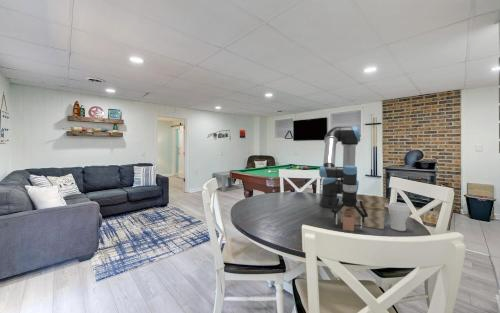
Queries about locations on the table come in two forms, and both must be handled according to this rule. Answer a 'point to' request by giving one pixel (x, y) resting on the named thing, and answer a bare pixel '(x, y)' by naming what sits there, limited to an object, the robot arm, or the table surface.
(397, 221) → the cup
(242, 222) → the table surface
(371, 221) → the wallboard
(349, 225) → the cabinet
